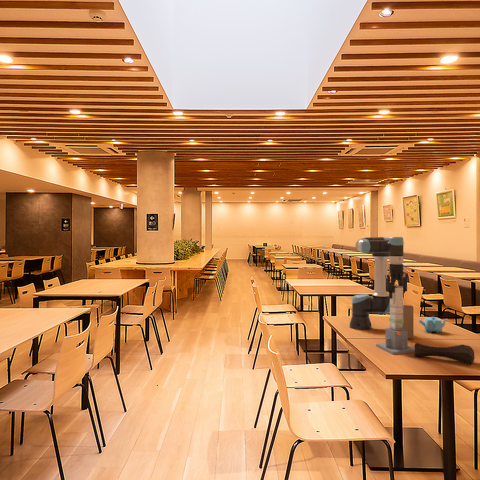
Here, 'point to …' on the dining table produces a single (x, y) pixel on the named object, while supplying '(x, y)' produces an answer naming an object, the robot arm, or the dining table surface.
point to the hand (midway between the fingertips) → (396, 303)
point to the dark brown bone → (447, 352)
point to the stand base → (396, 342)
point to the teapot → (433, 324)
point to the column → (397, 310)
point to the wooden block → (408, 320)
